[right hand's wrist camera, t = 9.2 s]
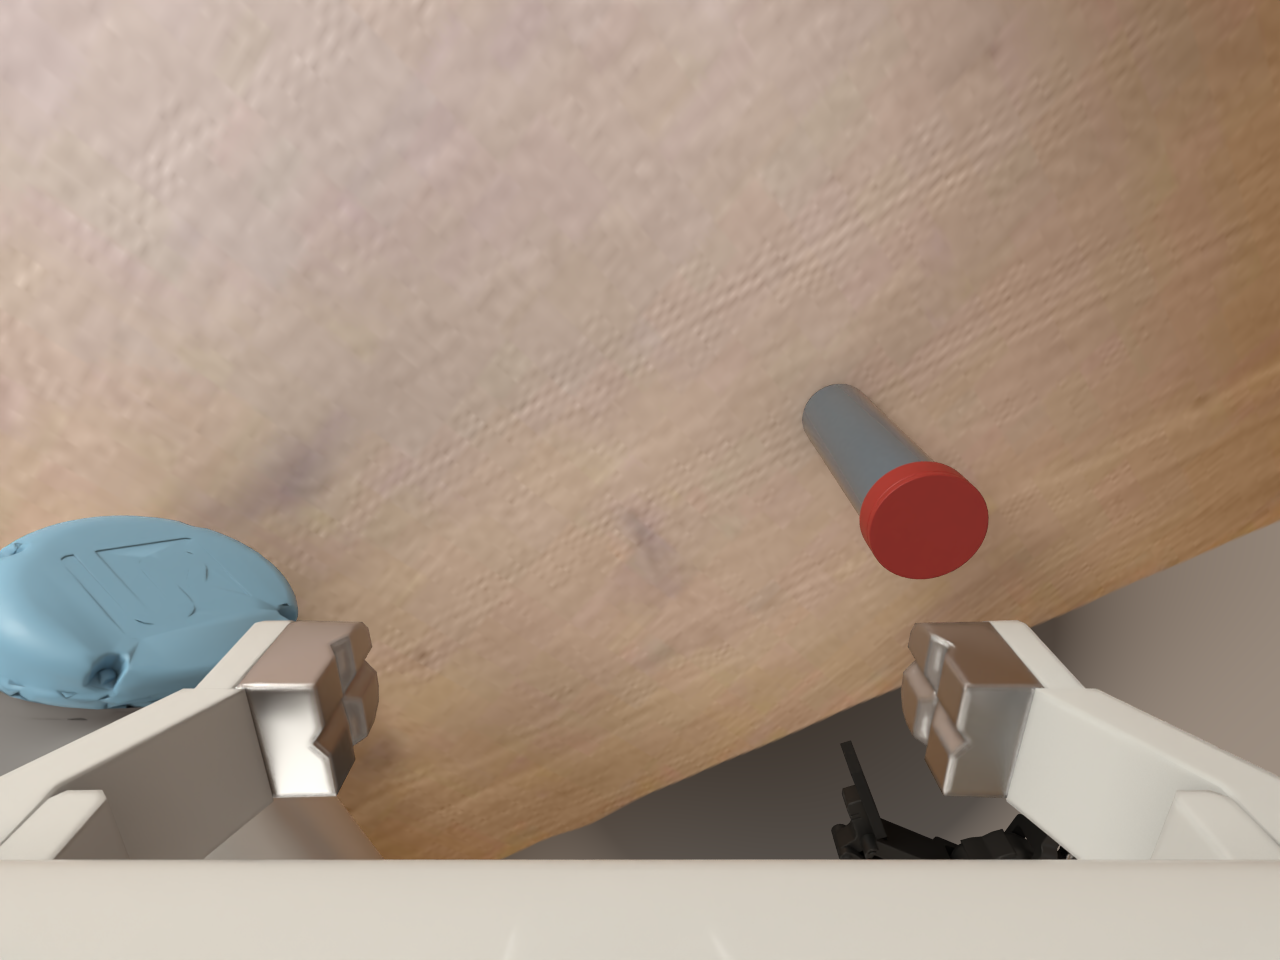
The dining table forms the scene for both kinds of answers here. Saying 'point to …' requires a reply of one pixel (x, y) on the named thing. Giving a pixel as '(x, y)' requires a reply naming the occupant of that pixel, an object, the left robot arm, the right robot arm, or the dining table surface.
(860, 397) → the jar
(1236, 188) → the dining table surface
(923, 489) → the lid
